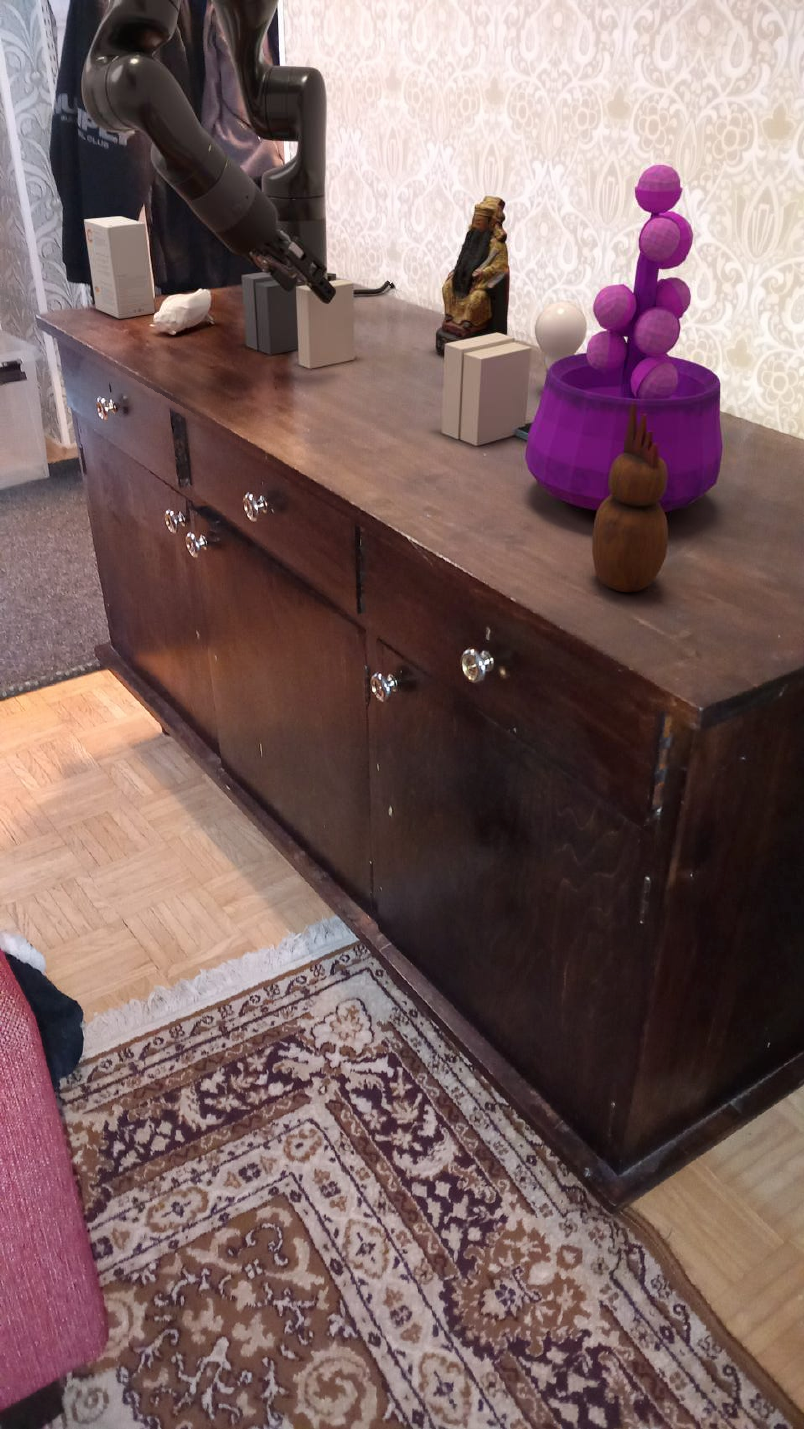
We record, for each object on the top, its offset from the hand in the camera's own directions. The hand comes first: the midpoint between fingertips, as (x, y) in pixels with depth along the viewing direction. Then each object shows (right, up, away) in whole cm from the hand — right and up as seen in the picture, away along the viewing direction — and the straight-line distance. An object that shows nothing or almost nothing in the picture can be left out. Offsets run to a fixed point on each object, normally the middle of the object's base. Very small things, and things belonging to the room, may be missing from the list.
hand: (311, 291), depth 139 cm
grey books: (-5, -3, +13) cm, 14 cm away
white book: (+2, -7, +6) cm, 10 cm away
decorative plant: (+33, -34, -32) cm, 57 cm away
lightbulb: (+31, -14, -3) cm, 35 cm away
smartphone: (+32, -23, -15) cm, 42 cm away
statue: (+22, -6, +9) cm, 24 cm away
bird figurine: (-20, +2, +19) cm, 28 cm away
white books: (+21, -23, -16) cm, 35 cm away
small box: (-31, +8, +28) cm, 43 cm away
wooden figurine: (+31, -44, -47) cm, 71 cm away
